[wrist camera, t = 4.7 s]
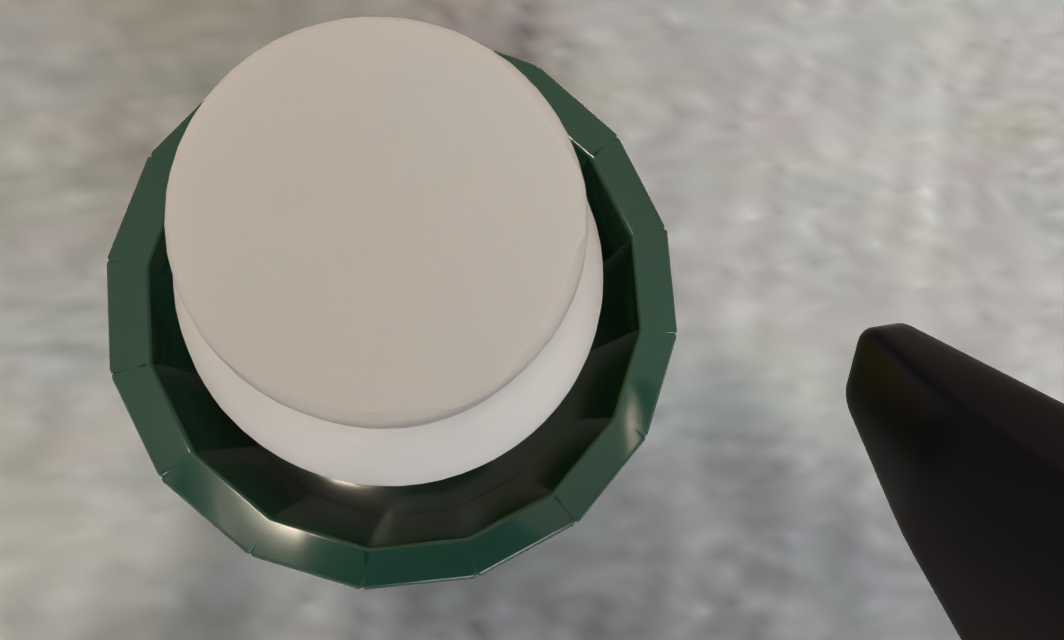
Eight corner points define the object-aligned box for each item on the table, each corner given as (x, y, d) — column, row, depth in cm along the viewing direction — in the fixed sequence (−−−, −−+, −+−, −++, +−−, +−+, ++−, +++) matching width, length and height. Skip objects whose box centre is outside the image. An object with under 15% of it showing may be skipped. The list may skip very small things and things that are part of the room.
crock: (686, 313, 19) (779, 273, 14) (427, 630, 18) (428, 709, 13) (389, 55, 19) (376, -75, 14) (103, 354, 17) (-24, 324, 13)
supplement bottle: (505, 176, 19) (593, -97, 9) (568, 430, 18) (733, 432, 8) (243, 230, 18) (27, -4, 8) (301, 497, 17) (145, 585, 8)
